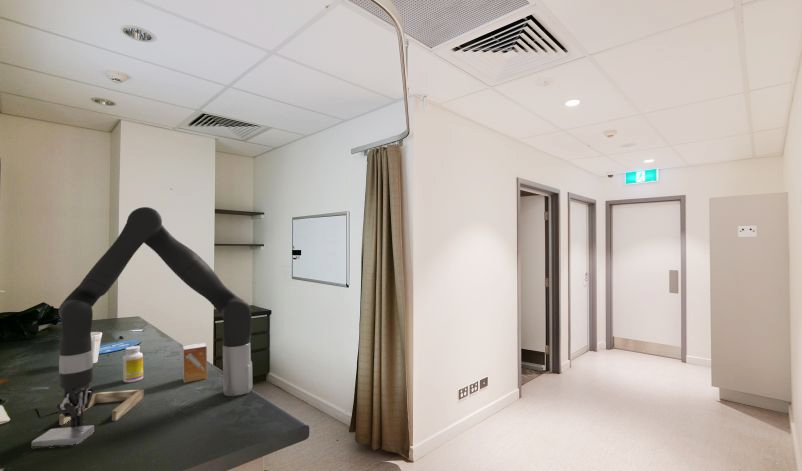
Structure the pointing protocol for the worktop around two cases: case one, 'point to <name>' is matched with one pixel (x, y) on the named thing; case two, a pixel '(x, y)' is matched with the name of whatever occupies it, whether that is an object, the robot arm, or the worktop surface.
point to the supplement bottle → (132, 364)
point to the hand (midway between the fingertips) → (77, 427)
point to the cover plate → (64, 436)
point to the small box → (194, 362)
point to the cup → (95, 344)
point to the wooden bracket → (127, 396)
